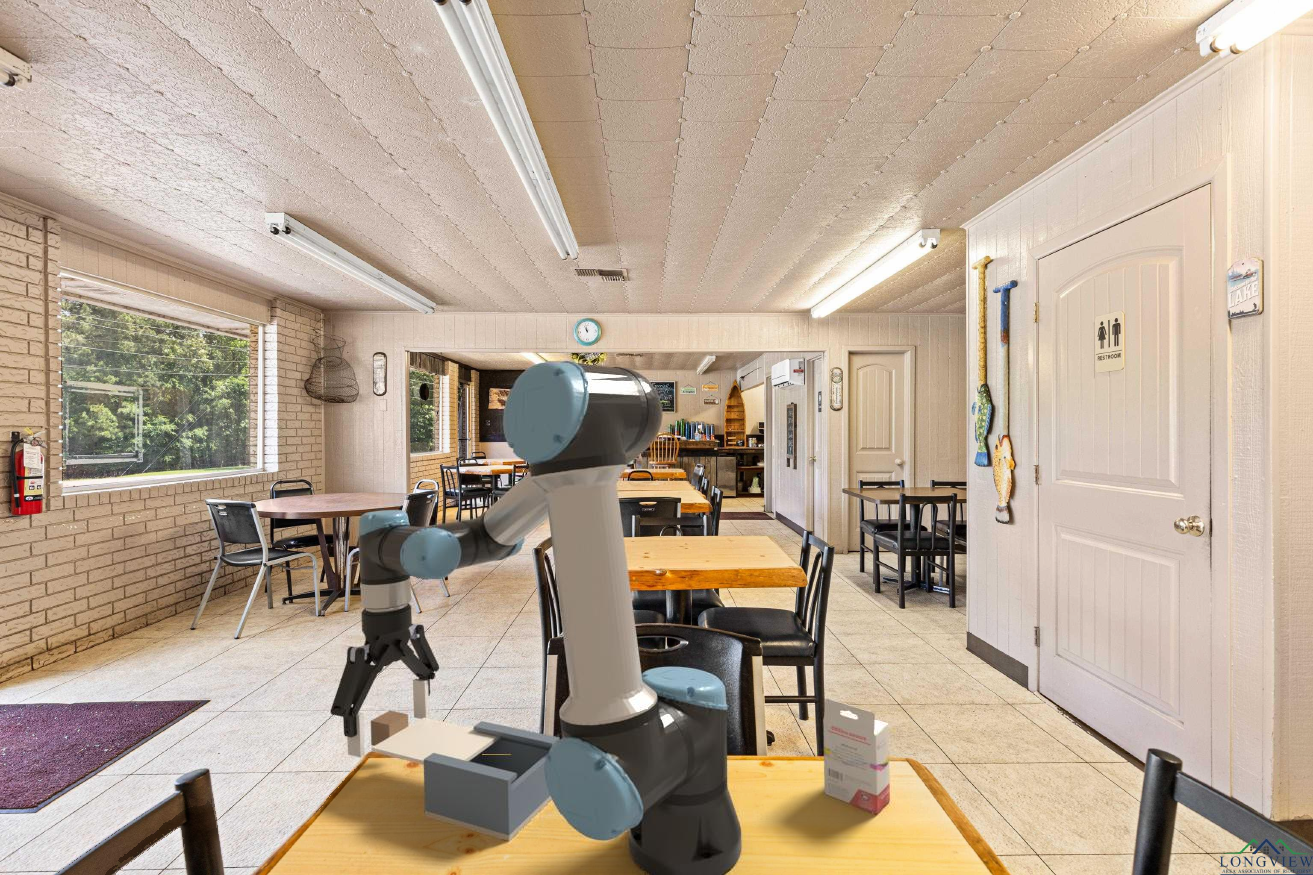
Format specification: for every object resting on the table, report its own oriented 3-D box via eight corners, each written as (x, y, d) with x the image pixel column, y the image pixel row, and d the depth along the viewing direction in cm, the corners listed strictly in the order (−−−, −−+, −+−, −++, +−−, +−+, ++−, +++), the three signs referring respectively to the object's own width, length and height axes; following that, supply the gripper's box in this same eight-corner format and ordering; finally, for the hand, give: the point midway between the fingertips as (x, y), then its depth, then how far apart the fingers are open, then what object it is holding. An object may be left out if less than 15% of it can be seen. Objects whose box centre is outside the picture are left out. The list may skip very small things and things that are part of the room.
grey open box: (560, 790, 99) (559, 737, 99) (509, 841, 88) (507, 780, 87) (482, 771, 106) (481, 720, 105) (424, 815, 94) (423, 759, 93)
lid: (500, 746, 103) (500, 721, 103) (453, 781, 93) (452, 754, 93) (406, 724, 111) (405, 701, 111) (353, 755, 101) (352, 730, 101)
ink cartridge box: (891, 800, 95) (890, 702, 95) (877, 816, 92) (876, 714, 92) (838, 779, 101) (837, 687, 101) (822, 793, 98) (821, 697, 97)
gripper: (424, 586, 117) (428, 701, 118) (301, 625, 95) (306, 768, 95) (457, 589, 114) (461, 707, 115) (337, 630, 92) (342, 778, 92)
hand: (390, 735), depth 105 cm, fingers open, 13 cm apart
